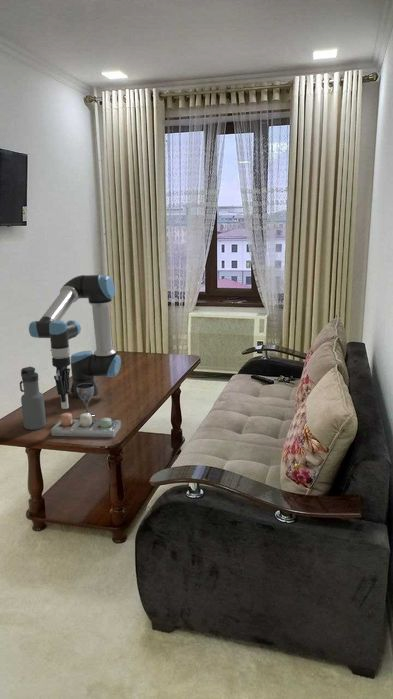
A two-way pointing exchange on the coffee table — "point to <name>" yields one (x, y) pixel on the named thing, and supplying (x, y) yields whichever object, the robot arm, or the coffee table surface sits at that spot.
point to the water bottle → (32, 400)
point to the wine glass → (86, 394)
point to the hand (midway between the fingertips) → (65, 408)
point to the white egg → (86, 420)
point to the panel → (86, 429)
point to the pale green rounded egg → (105, 423)
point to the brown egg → (66, 420)
